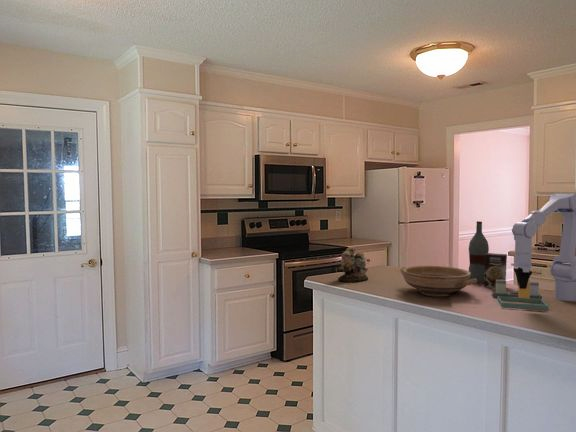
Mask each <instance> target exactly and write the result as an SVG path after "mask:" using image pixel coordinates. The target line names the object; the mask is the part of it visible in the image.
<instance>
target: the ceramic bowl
mask: <svg viewBox="0 0 576 432" xmlns="http://www.w3.org/2000/svg"><path fill="white" fill-rule="evenodd" d="M399 271H400V274H401V275H402V276H403V278H404V281H405V282H406V284H407V285H409V286H410V287H412V288H413V289H414V288H415V289H416V290H418V291H419V292H420V294H422V295H424V296H429V297H430V296H431V297H449V296H451V293H454V292H457V291H460V290H464V289H465V288H466V287H467V286H471V285H472V286H473V285H474V284H476V283H477V279H471V280H470V275H471V273H470V272H469V270H466V269H464V268H458V267H453V266H445V265H444V266H443V265H414V266H408V267H403V266H402V267H401V268H400V269H399Z"/></svg>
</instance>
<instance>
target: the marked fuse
mask: <svg viewBox="0 0 576 432" xmlns="http://www.w3.org/2000/svg"><path fill="white" fill-rule="evenodd" d="M530 281H531V280H530V279H529V280H528V284H527V287H526V289H520V287H519V286H518V285H517V286H518V289H517V290H518V292H517V293H518V297H519V298H529V299H530Z"/></svg>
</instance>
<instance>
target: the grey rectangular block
mask: <svg viewBox="0 0 576 432" xmlns="http://www.w3.org/2000/svg"><path fill="white" fill-rule="evenodd" d="M539 285H540V282H538V281H532V280H530V295H532V296H538V294H539V289H540V287H539Z"/></svg>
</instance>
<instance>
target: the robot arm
mask: <svg viewBox="0 0 576 432" xmlns="http://www.w3.org/2000/svg"><path fill="white" fill-rule="evenodd" d="M555 211H557V212H558V213H559V214H561V215H562V217H563V223H562V225H563V226H562V232H561V240H560V247H559V254H558V255H557V256H556V257H554V258H553V260H552V264H551V266H550V271H549V273H550V274H551V276H553V279H554V299H555V300H557V301H564V302H576V193H558V192H555V193H553V194H552V195H550V196H549V198H548V201H547V202H546V203H545V204H544V205H543V206H542V207H540V209H539V210H532V211H530V214H529V215H528V216H526V217H523V219H522V220H521V221H517V222H516V223H514V224H513V226H512V228H511V233H512V235H513V240H514V263H511V264H510V265H511V267H512V266H513V267H516V268H513V271H514V273H515V276H516V283H517V286H519V287H520V289H526V287H527V284H528V280H530V277H531V276H532V274H533V271H532V270H531V269H530V268H532V267H533V265H532V248H533V246H532V245H533V237H534V236H535V235H536V233H537V231H538V229H539V228H540V227H541V226H542V225H543V224H545V223H546V221H547V217H549V216H550V215H551V214H553V213H554V212H555Z"/></svg>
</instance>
